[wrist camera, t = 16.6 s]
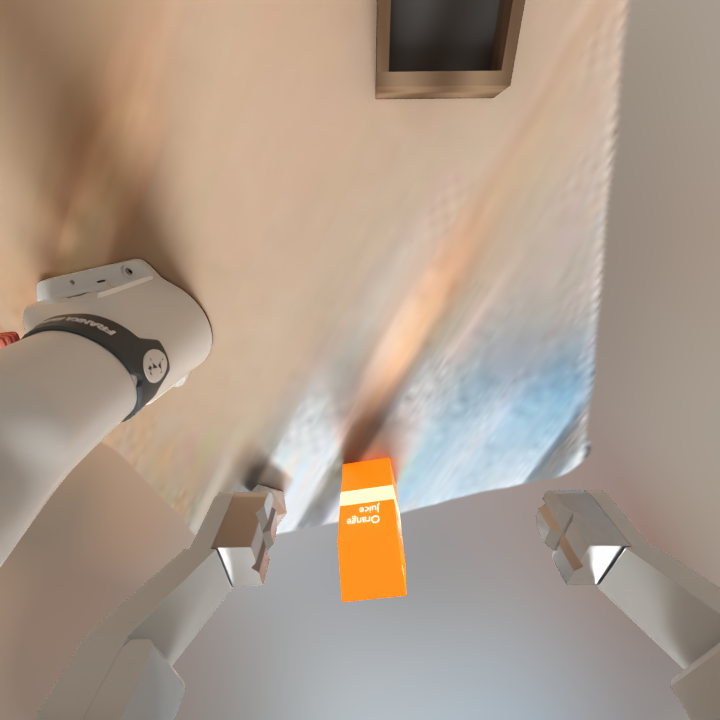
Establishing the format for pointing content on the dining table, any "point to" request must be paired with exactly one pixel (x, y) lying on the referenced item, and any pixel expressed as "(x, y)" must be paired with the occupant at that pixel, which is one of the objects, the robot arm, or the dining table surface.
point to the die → (278, 500)
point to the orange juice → (370, 533)
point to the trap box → (446, 47)
